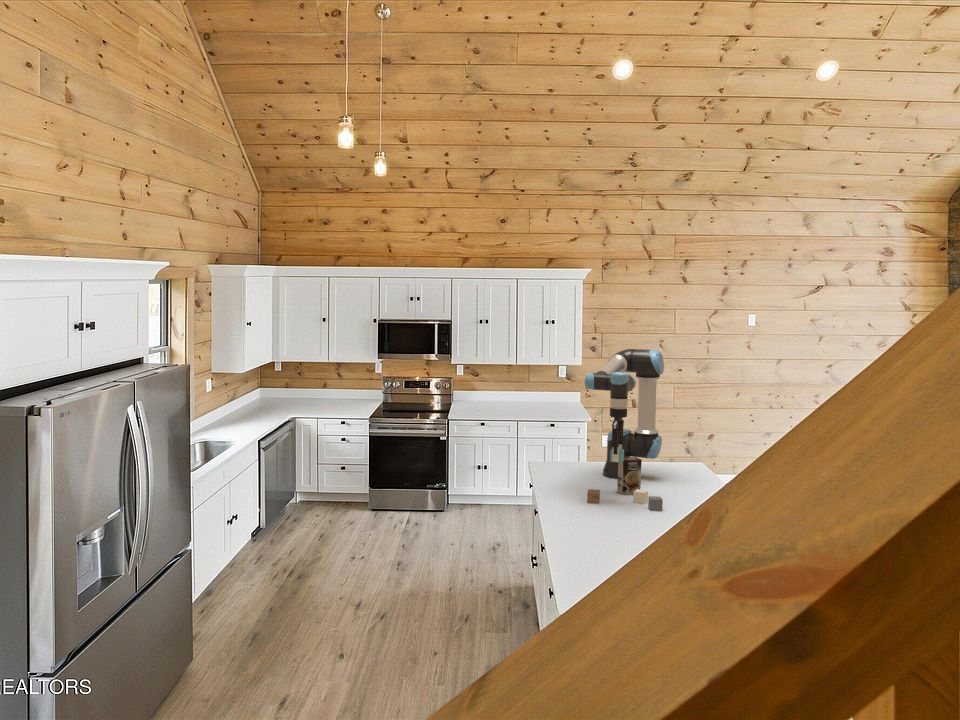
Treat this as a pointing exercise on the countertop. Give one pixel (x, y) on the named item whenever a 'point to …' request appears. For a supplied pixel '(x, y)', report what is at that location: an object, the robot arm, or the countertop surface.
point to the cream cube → (640, 496)
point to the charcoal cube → (655, 503)
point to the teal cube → (621, 455)
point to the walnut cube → (593, 496)
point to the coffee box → (629, 475)
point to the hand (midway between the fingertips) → (616, 460)
